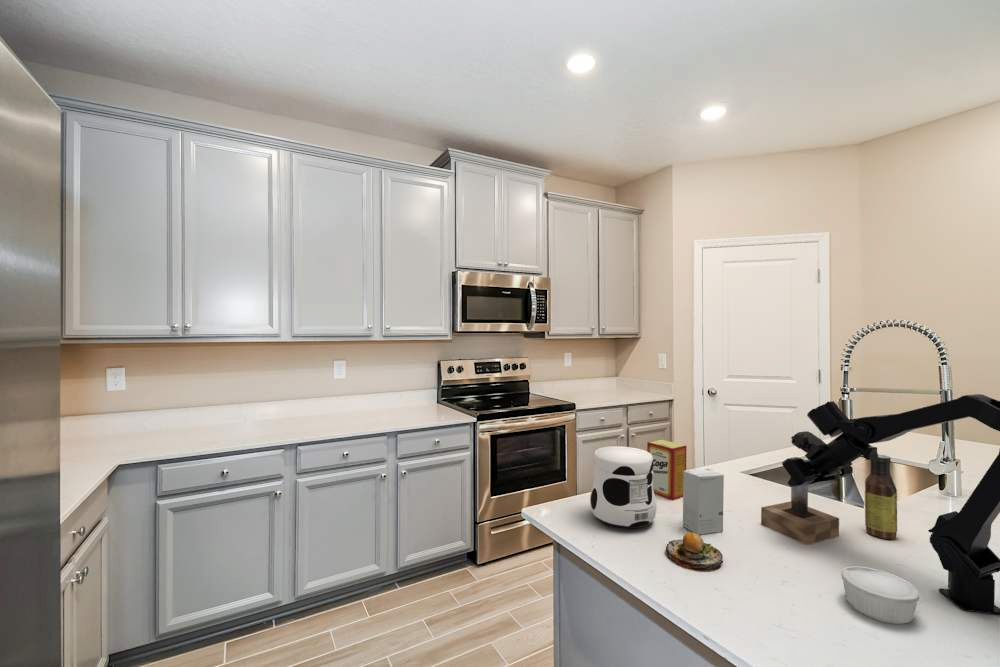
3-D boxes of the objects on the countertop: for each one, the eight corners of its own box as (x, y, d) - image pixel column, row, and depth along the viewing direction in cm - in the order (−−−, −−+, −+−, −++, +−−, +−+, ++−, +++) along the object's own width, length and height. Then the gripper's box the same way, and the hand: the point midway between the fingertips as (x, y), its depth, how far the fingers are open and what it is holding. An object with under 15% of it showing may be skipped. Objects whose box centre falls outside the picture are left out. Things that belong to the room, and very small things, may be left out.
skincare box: (697, 536, 113) (698, 477, 113) (681, 525, 119) (681, 469, 118) (724, 531, 115) (725, 473, 115) (707, 521, 121) (707, 466, 121)
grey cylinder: (808, 515, 113) (808, 463, 113) (789, 511, 116) (789, 460, 116) (809, 510, 117) (809, 460, 116) (791, 506, 119) (791, 457, 119)
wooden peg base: (838, 536, 113) (839, 518, 113) (806, 544, 109) (806, 526, 109) (792, 517, 124) (792, 500, 124) (761, 524, 120) (761, 507, 120)
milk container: (604, 502, 135) (604, 442, 134) (663, 516, 125) (664, 451, 125) (579, 523, 120) (580, 455, 120) (645, 540, 111) (645, 467, 110)
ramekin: (881, 591, 90) (881, 564, 90) (937, 628, 79) (938, 598, 79) (826, 592, 89) (826, 565, 89) (875, 630, 78) (875, 600, 78)
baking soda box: (647, 490, 144) (647, 440, 144) (660, 486, 148) (660, 438, 147) (672, 500, 136) (673, 447, 136) (686, 496, 140) (686, 444, 139)
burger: (731, 560, 102) (732, 527, 102) (708, 579, 94) (708, 543, 94) (680, 541, 111) (681, 510, 111) (655, 557, 103) (655, 524, 103)
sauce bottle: (903, 541, 110) (904, 460, 110) (874, 539, 111) (875, 459, 111) (886, 529, 117) (887, 453, 116) (858, 527, 118) (859, 451, 118)
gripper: (840, 420, 116) (797, 452, 126) (790, 426, 109) (749, 459, 119) (875, 459, 109) (826, 490, 119) (823, 468, 102) (777, 500, 112)
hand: (794, 483), depth 117 cm, fingers closed on grey cylinder, 4 cm apart
